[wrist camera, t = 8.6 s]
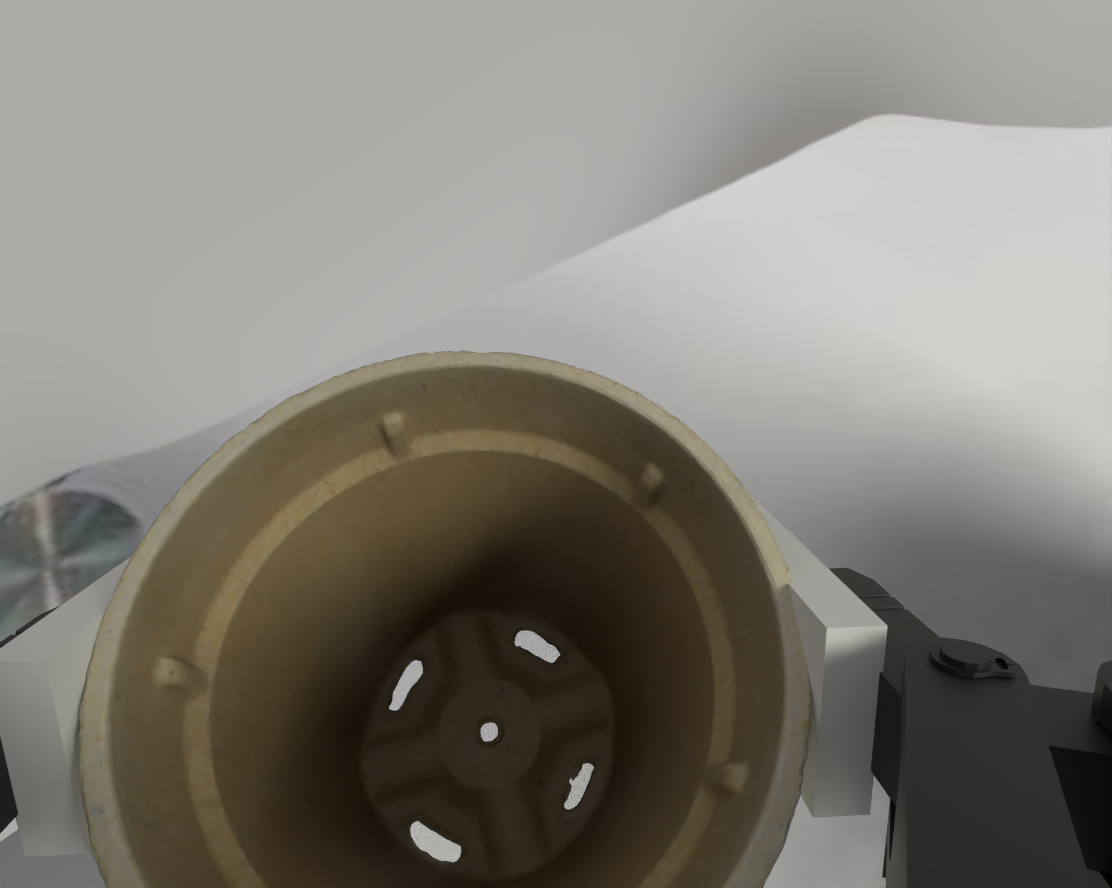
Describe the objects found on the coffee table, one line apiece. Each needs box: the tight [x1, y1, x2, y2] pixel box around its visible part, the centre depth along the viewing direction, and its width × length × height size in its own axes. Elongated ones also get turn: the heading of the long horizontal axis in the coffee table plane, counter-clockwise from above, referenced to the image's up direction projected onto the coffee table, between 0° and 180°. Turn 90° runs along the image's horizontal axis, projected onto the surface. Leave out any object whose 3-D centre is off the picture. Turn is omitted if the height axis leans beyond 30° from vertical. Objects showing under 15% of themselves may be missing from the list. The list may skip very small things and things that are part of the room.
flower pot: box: [78, 351, 811, 888], centre depth 13 cm, size 9×9×9 cm
